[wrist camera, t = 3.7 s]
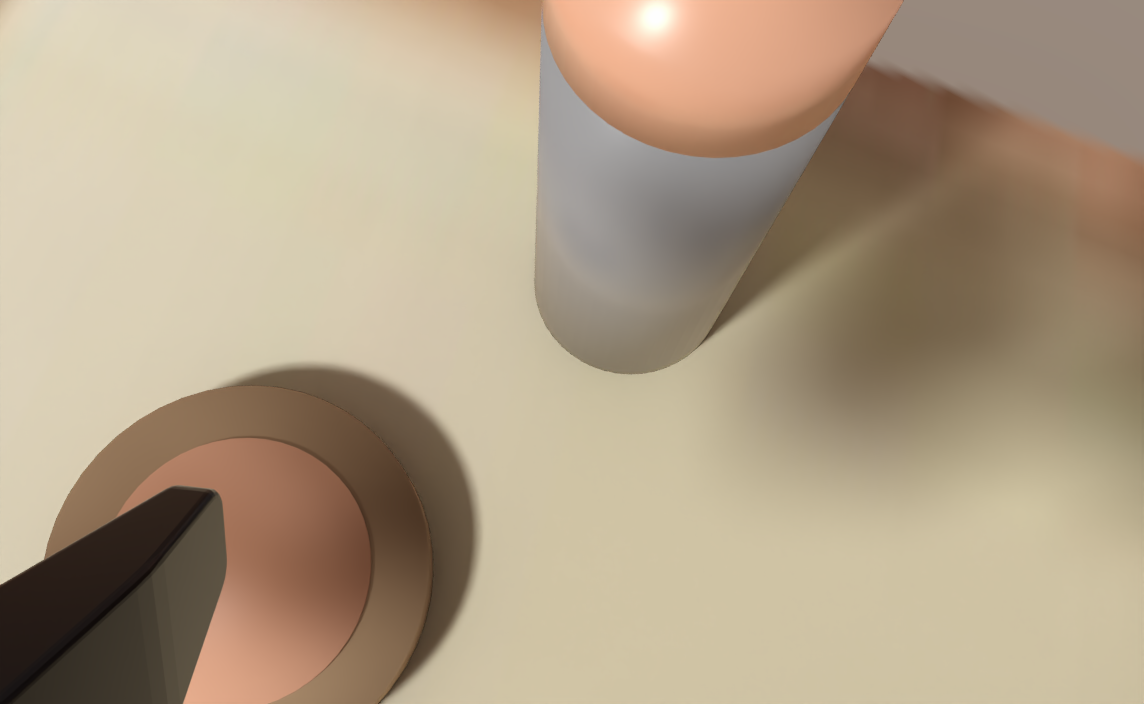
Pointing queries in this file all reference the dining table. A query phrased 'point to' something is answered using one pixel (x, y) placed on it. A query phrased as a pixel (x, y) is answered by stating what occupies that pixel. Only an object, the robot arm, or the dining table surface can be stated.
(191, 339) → the dining table surface
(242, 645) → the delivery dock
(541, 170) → the cartridge
